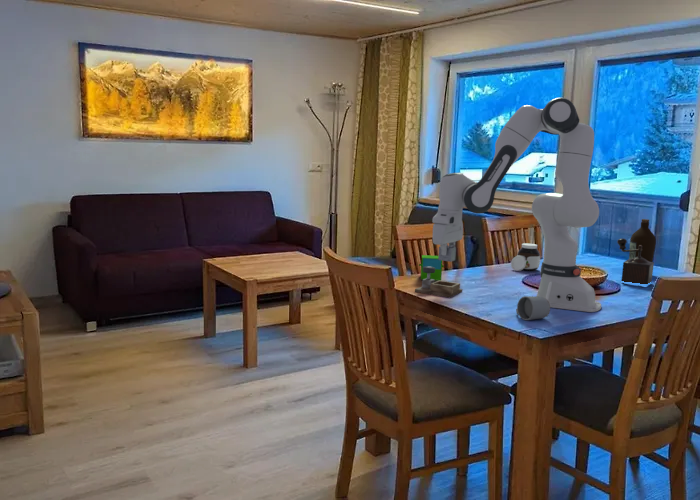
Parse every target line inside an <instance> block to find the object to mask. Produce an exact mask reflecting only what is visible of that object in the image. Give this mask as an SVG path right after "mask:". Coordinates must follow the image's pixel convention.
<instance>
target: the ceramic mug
mask: <svg viewBox="0 0 700 500" xmlns="http://www.w3.org/2000/svg"><path fill="white" fill-rule="evenodd" d="M515 311H516V312H515V313H516V314H517V315H518V316H519V318H520V319H522V321H523V320H524V321H533V320H534V321H535V320H541V319H546V318H547V317H548V316H549V314H550V311H551V307H550V304H549V302H548V300H547V299H546V298H544V297H539V296H537V295H536V296H533V295H532V296H531V295H530V296H529V295H527V296H525V295H524V296H522V297H520V299H519V300H518V301H517V305H516V309H515Z"/></svg>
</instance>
